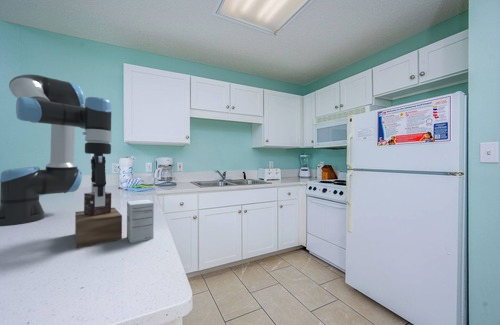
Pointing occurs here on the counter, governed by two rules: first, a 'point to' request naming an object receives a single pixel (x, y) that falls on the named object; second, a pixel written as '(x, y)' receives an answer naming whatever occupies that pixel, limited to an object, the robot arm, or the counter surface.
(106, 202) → the box
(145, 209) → the supplement box
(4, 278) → the counter surface
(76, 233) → the walnut stand
